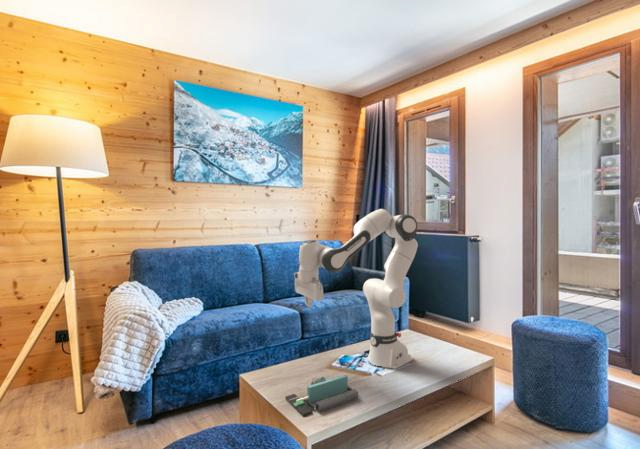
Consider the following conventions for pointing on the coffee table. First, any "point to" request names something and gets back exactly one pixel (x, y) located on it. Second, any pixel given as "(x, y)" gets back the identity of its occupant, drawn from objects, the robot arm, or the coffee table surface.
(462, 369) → the coffee table surface
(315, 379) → the mineral specimen
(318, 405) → the gauge frame
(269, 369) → the coffee table surface
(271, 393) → the coffee table surface
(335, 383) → the gauge plate
